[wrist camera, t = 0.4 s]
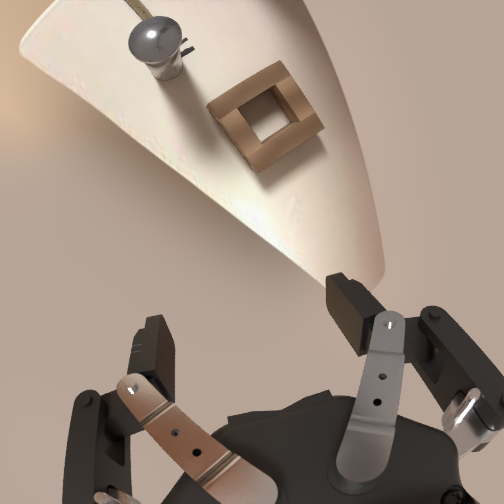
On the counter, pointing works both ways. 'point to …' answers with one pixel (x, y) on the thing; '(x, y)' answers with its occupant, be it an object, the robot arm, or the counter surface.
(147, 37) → the pin
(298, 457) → the robot arm
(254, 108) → the counter surface
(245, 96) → the socket block
